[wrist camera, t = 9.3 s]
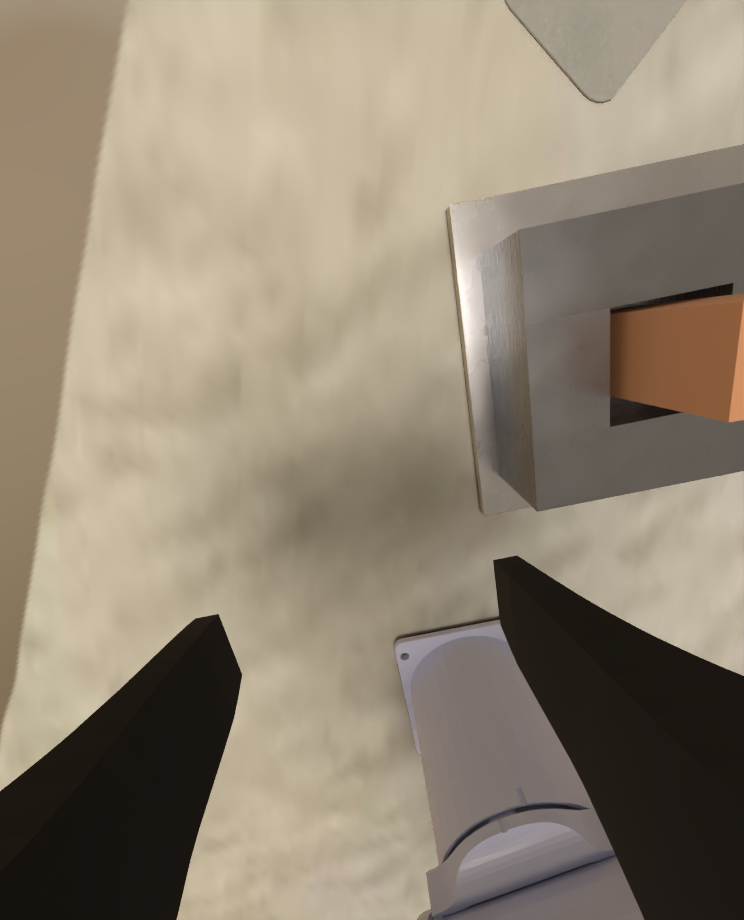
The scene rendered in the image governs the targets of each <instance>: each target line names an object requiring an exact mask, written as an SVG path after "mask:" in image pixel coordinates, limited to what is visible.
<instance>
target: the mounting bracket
mask: <svg viewBox="0 0 744 920" xmlns="http://www.w3.org/2000/svg"><path fill="white" fill-rule="evenodd" d="M505 2H506V4H507V6H508V7H509V9H510V10H511V12H512V13H513V14H514V15H515V16H516V17H517V18H518V20H519V21H520V22H521V23H522V24H523V25H524V27H525V28H526V29H527V30H528V31H529V32H530V33H531V35H532V36H533V37H534V38H535V39H536V40H537V42H538V43H539V44H540V45H541V46H542V47H543V48H544V50H545V51H546V52H547V53H548V54H549V55H550V57H551V58H552V59H553V60H554V61H555V62H556V63H557V65H558V66H559V67H560V68H561V69H562V70H563V72H564V73H565V74H566V75H567V76H568V77H569V78H570V80H571V81H572V82H573V83H574V84H575V85H576V87H577V88H578V89H579V90H580V91H581V92H582V93H583V95H584V96H586V97H587V98H588V99H589V100H592V101H594V102H602V103H603V102H606V101H609V100H611V99H612V98H613V96H614V95H615V94H616V92H617V91H618V90H619V89H620V87H621V86H622V85H623V83H624V82H625V81H626V79H627V78H628V77H629V75H630V74H631V73H632V71H633V70H634V69H635V67H636V66H637V65H638V64H639V62H640V61H641V60H642V58H643V57H644V56H645V54H646V53H647V52H648V50H649V49H650V48H651V46H652V45H653V44H654V42H655V41H656V40H657V39H658V37H659V36H660V35H661V33H662V32H663V31H664V29H665V28H666V27H667V25H668V24H669V23H670V21H671V20H672V19H673V17H674V16H675V15H676V13H677V12H678V11H679V10H680V8H681V7H682V6H683V4H684V3H685V2H686V0H505Z"/></svg>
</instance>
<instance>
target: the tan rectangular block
mask: <svg viewBox="0 0 744 920" xmlns="http://www.w3.org/2000/svg"><path fill="white" fill-rule="evenodd" d="M610 396H612V397H617V398H621V399H626V400H630V401H635V402H639V403H643V404H648V405H652V406H657V407H661V408H666V409H670V410H675V411H679V412H684V413H688V414H693V415H697V416H701V417H706V418H710V419H715V420H719V421H724V422H728V423H729V422H735V421H740V420H744V293H741V294H733V295H724V296H715V297H707V298H698V299H689V300H681V301H672V302H663V303H655V304H646V305H637V306H630V307H625V308H619V309H614V310H610Z"/></svg>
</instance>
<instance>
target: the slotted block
mask: <svg viewBox="0 0 744 920" xmlns="http://www.w3.org/2000/svg"><path fill="white" fill-rule="evenodd" d="M446 215H447V224H448V233H449V241H450V250H451V259H452V267H453V276H454V285H455V293H456V302H457V311H458V319H459V328H460V337H461V345H462V354H463V363H464V372H465V380H466V389H467V398H468V406H469V415H470V424H471V432H472V441H473V450H474V458H475V467H476V476H477V484H478V493H479V502H480V510H481V512H482V514H483V515H484V516H488V515H493V514H498V513H503V512H508V511H513V510H518V509H523V508H528V507H533V508H534V509H535V510H536V511H537V512H538V511H543V510H548V509H553V508H558V507H563V506H568V505H573V504H578V503H583V502H588V501H593V500H599V499H604V498H609V497H614V496H619V495H624V494H629V493H634V492H639V491H644V490H649V489H654V488H659V487H664V486H669V485H675V484H680V483H685V482H690V481H695V480H700V479H705V478H710V477H715V476H720V475H725V474H730V473H735V472H740V471H744V420H740V421H735V422H729V423H728V422H724V421H719V420H715V419H710V418H706V417H701V416H697V415H693V414H688V413H684V412H679V411H675V410H670V409H666V408H661V407H657V406H652V405H648V404H643V403H639V402H635V401H630V400H626V399H621V398H617V397H612V396H610V310H614V309H619V308H625V307H630V306H637V305H646V304H655V303H663V302H672V301H681V300H689V299H698V298H707V297H715V296H724V295H733V294H741V293H744V144H743V145H738V146H734V147H729V148H724V149H719V150H714V151H710V152H705V153H700V154H695V155H690V156H686V157H681V158H676V159H671V160H667V161H662V162H657V163H652V164H647V165H643V166H638V167H633V168H628V169H623V170H619V171H614V172H609V173H604V174H600V175H595V176H590V177H585V178H580V179H576V180H571V181H566V182H561V183H556V184H552V185H547V186H542V187H537V188H532V189H528V190H523V191H518V192H513V193H509V194H504V195H499V196H494V197H489V198H485V199H480V200H475V201H470V202H465V203H461V204H456V205H451V206H449V207H448V209H447V210H446Z"/></svg>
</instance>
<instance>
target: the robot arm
mask: <svg viewBox="0 0 744 920" xmlns="http://www.w3.org/2000/svg"><path fill="white" fill-rule="evenodd" d="M493 562H494V571H495V580H496V589H497V599H498V608H499V617H500V620H495V621H489V622H484V623H479V624H474V625H469V626H464V627H459V628H453V629H448V630H443V631H438V632H433V633H428V634H422V635H417V636H412V637H407V638H402V639H399V640H397V641H396V642H395V644H394V649H395V654H396V659H397V663H398V668H399V672H400V677H401V681H402V686H403V690H404V695H405V699H406V704H407V708H408V713H409V717H410V722H411V726H412V731H413V735H414V740H415V744H416V749H417V753H418V755H419V756H421V758H422V764H423V770H424V776H425V782H426V788H427V794H428V800H429V806H430V812H431V818H432V825H433V831H434V837H435V843H436V849H437V855H438V861H439V866H437V867H436V868H434V869H431V870H429V871H428V872H427V873H426V875H427V883H428V890H429V897H430V905H431V909H430V910H427V911H425V912H423V913H422V914H421V915H419V917H418V919H417V920H744V676H742V675H740V674H737V673H735V672H732V671H730V670H727V669H725V668H723V667H720V666H718V665H716V664H713V663H711V662H709V661H706V660H704V659H702V658H699V657H697V656H695V655H693V654H691V653H689V652H686V651H684V650H682V649H680V648H678V647H676V646H674V645H671V644H669V643H667V642H665V641H663V640H661V639H659V638H657V637H655V636H653V635H651V634H649V633H647V632H645V631H643V630H641V629H639V628H637V627H635V626H633V625H631V624H629V623H627V622H626V621H624V620H622V619H620V618H618V617H616V616H614V615H613V614H611V613H609V612H607V611H605V610H604V609H602V608H600V607H598V606H597V605H595V604H593V603H591V602H590V601H588V600H586V599H585V598H583V597H581V596H580V595H578V594H576V593H575V592H573V591H571V590H570V589H568V588H567V587H565V586H563V585H562V584H560V583H559V582H557V581H556V580H554V579H552V578H551V577H549V576H548V575H546V574H545V573H543V572H542V571H540V570H539V569H537V568H535V567H534V566H532V565H531V564H529V563H528V562H526V561H525V560H523V559H522V558H520V557H518V556H513V557H507V558H502V559H497V560H493ZM403 653H407V654H405V655H402V654H403ZM241 678H242V673H241V671H240V668H239V666H238V663H237V660H236V658H235V655H234V653H233V650H232V648H231V645H230V643H229V640H228V637H227V635H226V632H225V630H224V627H223V625H222V622H221V620H220V617H219V614H217V615H212V616H207V617H201V618H196V619H195V620H193V621H192V622H191V623H190V624H189V625H187V626H186V627H185V628H184V629H183V630H182V631H181V632H180V633H179V634H177V635H176V636H175V637H174V638H173V639H172V640H171V641H170V642H169V643H168V644H167V645H166V646H165V647H164V648H163V649H162V650H161V651H160V652H159V653H158V654H156V655H155V656H154V657H153V658H152V659H151V660H150V661H149V662H148V663H147V664H146V665H145V666H144V667H143V668H142V669H141V670H140V671H139V672H138V673H137V674H136V675H135V676H133V677H132V678H131V679H130V680H129V681H128V682H127V683H126V684H125V685H124V686H123V687H122V688H121V689H120V690H119V691H118V692H117V693H115V694H114V695H113V696H112V697H111V698H110V699H109V700H108V701H107V702H105V703H104V704H103V705H102V706H101V707H100V708H99V709H98V710H97V711H95V712H94V713H93V714H92V715H91V716H90V717H89V718H88V719H87V720H85V721H84V722H83V723H82V724H81V725H80V726H79V727H78V728H77V729H76V730H74V731H73V732H72V733H71V734H70V735H69V736H68V737H66V738H65V739H64V740H63V741H62V742H61V743H59V744H58V745H57V746H56V747H55V748H53V749H52V750H51V751H50V752H49V753H47V754H46V755H45V756H44V757H43V758H41V759H40V760H39V761H38V762H36V763H35V764H34V765H33V766H31V767H30V768H29V769H28V770H26V771H25V772H24V773H23V774H22V775H20V776H19V777H18V778H17V779H15V780H14V781H13V782H12V783H10V784H9V785H8V786H6V787H5V788H4V789H3V790H1V791H0V920H176V919H177V915H178V911H179V907H180V902H181V898H182V894H183V889H184V885H185V881H186V877H187V872H188V868H189V864H190V860H191V856H192V852H193V849H194V845H195V842H196V838H197V834H198V831H199V828H200V824H201V821H202V818H203V815H204V812H205V809H206V806H207V802H208V799H209V796H210V793H211V790H212V787H213V784H214V780H215V777H216V774H217V771H218V768H219V765H220V762H221V758H222V755H223V752H224V749H225V746H226V742H227V739H228V736H229V733H230V729H231V726H232V723H233V719H234V715H235V710H236V705H237V700H238V695H239V689H240V684H241Z"/></svg>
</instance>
